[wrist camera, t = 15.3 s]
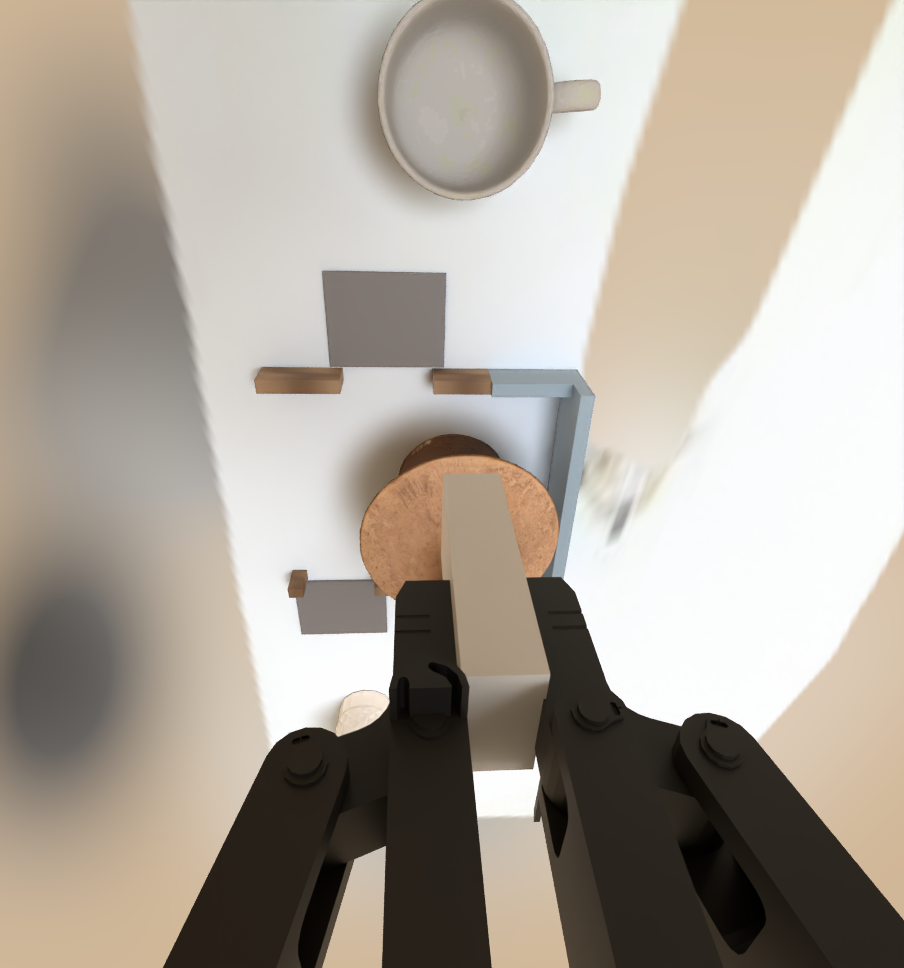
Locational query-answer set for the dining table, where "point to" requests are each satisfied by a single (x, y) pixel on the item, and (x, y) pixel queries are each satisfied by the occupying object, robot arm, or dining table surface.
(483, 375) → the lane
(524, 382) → the pocket
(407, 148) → the teacup
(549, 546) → the pitcher
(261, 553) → the dining table surface
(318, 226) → the dining table surface
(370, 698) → the beige tumbler
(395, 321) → the mat
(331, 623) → the mat
